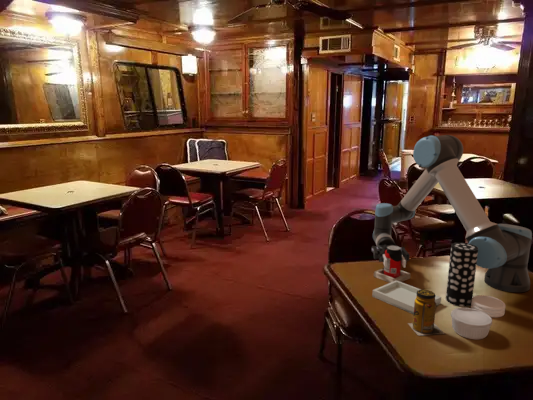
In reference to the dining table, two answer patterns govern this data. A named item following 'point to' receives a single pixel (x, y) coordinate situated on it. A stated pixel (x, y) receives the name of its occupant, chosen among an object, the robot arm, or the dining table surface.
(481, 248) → the robot arm
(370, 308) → the dining table surface
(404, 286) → the tray
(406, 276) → the collar
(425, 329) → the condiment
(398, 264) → the beverage can
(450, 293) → the spotted tube
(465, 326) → the ramekin
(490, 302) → the shallow round dish
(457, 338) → the dining table surface
